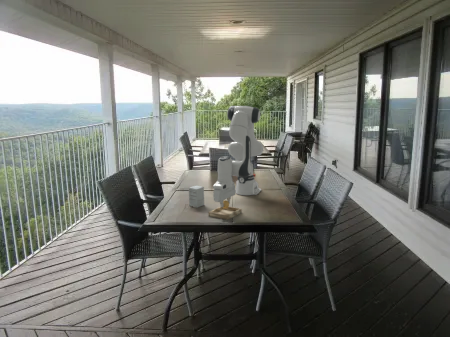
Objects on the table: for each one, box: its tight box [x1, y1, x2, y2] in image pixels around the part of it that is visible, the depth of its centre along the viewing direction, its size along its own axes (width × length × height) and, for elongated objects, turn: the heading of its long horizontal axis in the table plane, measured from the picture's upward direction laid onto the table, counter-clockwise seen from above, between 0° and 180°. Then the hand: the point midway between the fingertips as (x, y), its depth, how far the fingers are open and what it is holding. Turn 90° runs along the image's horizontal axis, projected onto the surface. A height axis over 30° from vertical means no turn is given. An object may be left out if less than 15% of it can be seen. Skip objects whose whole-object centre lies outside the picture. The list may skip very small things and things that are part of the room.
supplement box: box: [188, 185, 205, 208], centre depth 232 cm, size 7×7×13 cm
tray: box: [207, 205, 243, 221], centre depth 215 cm, size 16×14×2 cm
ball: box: [222, 199, 230, 209], centre depth 214 cm, size 5×5×5 cm
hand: (225, 205), depth 214 cm, fingers closed on ball, 5 cm apart
